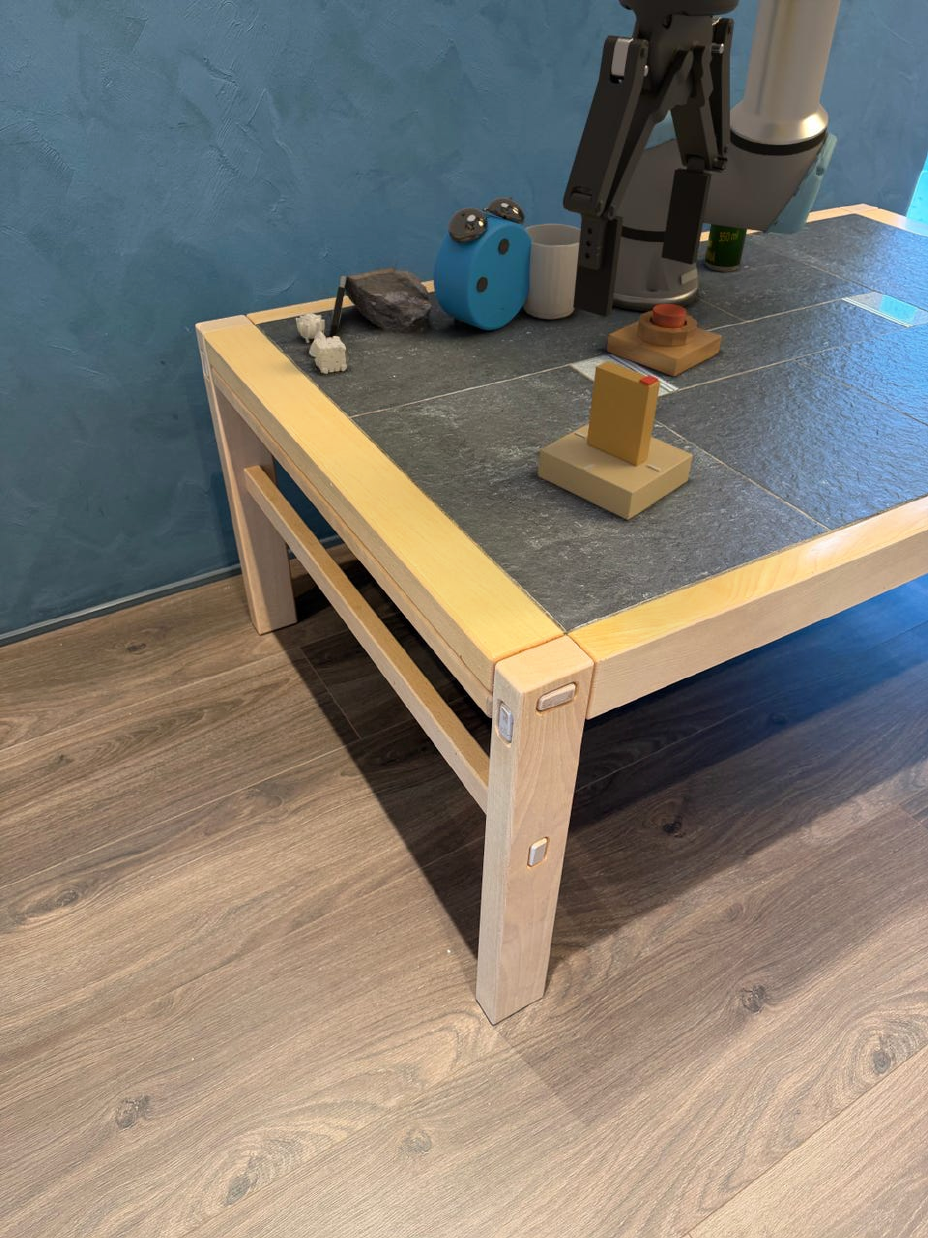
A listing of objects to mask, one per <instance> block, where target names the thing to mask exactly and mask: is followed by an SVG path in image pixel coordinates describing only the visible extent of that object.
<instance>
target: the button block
mask: <svg viewBox="0 0 928 1238" xmlns="http://www.w3.org/2000/svg"><path fill="white" fill-rule="evenodd" d="M652 313H653V311H645V312H644V313H642V314H640V315H639V319H638V321H635V322H633V323H631V324H628V325H626V326H624V327H622V328H620V329H617V330H615V331H613V332H611V333H609V334H608V337H607V347H606V352H607V353H610V354H613V355H616V356H619V357H621V358H623V359H626V360H629V361H631V362H634V363H636V364H640V365H642V366H645V367H647V368H650V369H652V370H656V371H658V372H661V373H663V374H666V375H669V376H671V377H675V376H677V375H679V374H681V373H683V372H685V371H687V370H689V369H691V368H693V367H695V366H696V365H698V364H700V363H702V362H704V361H706V360H707V359H710V358H711V357H713V356H716V354H719V353H720V348H721V345H722V344H721V343H722V340H723V339H722V338H723V335H721V334H719V333H716V332H713V331H709V330H707V329H704V328H700V327H697V324H698V321H697V320H696V319H695V318H694V317H692V316H691V315H689V314H686V318H685V323H684V326H683V327H681V328H673V329H672V328H663V327H659V326H656V325H653V324H652V323H651V319H652Z"/></svg>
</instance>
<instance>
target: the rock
mask: <svg viewBox="0 0 928 1238" xmlns="http://www.w3.org/2000/svg"><path fill="white" fill-rule="evenodd" d="M344 288H345V295H346V297H347V299H348V300H349V301H350V302H351V304H353V305H354V307H355V308H356V309H357V311H359V313H360V314H361V315H362V316H363V317H365V318H366V319H367V320H368V321H370V322H371V323H372V324H374V325H376V326H377V327H379V328H381V329H383V330H384V331H385V332H387V333H391V334H397V335H398V334H399V335H400V334H404V335H410V334H412V335H413V334H425V333H427V332H428V331H429V330H428V329H429V328H428V325H429V321H430V314H431V310H432V299H431V298H430V297H429V291H428V289H427V286H425V285H424V284H422V282H421V278H420V277H419V276H417V275H415V274H414V273H412V272H410V271H408V270H406V269H403V270H401V269H400V270H399V269H397V268H395V267H388V268H383V269H382V268H378V269H376V270H371V271H366V272H360V273H355V274H350V275H347V276H346V281H345V286H344Z"/></svg>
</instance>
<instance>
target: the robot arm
mask: <svg viewBox="0 0 928 1238" xmlns="http://www.w3.org/2000/svg"><path fill="white" fill-rule="evenodd" d="M739 2H740V0H618V3H619V5H620V6H621V7H622V8H623V9H625V10H628V11H632V12H633V13H634V16H635V23H634V25H633V31H632V35H631V37H628V36H619V35H611V34H609V35H607V37H606V38H605V40H604V42H603V48H602V55H601V61H600V62H601V63H600V69H599V76H598V80H597V82H596V83H597V84H596V87H595V91H594V93H593V97H592V101H591V104H590V107H589V110H588V113H587V117H586V119H585V124H584V127H583V131H582V133H581V137H580V141H579V144H578V146H577V151H576V154H575V156H574V160H573V164H572V166H571V170H570V174H569V177H568V181H567V184H566V187H565V191H564V195H563V197H562V206H563V209H564V210H567V211H568V212H571V213H576V214H579V215H580V217H581V222H580V229H581V231H580V241H579V252H578V262H577V272H576V283H575V293H574V304H573V308H575V309H576V310H580V311H583V312H587V313H591V314H593V315H597V316H601V317H604V318H607V317H609V316H610V315H612V311H613V307H617V308H621V309H626V310H633V311H641V312H648V311H653V308H654V307H655V306H656V305H660V304H674V305H678V306H681V307H683V308H684V307H686V306H688V305H690V304H691V303H693V302H694V301H695V300H696V297H697V291H698V287H699V278H698V268H697V261H698V260H697V259H698V254H699V248H700V242H701V237H702V232H703V225H704V224H708V225H711V224H714V225H721V226H728V227H735V228H742V229H747V231H748V230H750V231H756V232H762V234H765V235H768V234H770V233H772V234H781V235H782V234H783V235H793V234H796V233H798V232H800V231H801V230H802V229H803V228H804V227H805V226H806V224H807V221H808V219H809V216H810V213H811V212H812V211H811V210H812V209H813V206H814V203H815V200H816V199H817V195H818V193H819V190H820V188H821V185H822V182H823V180H824V178H825V174H826V172H827V169H828V166H829V164H830V161H831V159H832V156H833V153H834V151H835V148H836V145H837V143H838V137H837V136H836V135H835V134H833V133H832V132H830V131H828V132H827V129H828V124H829V114H828V112H827V111H826V109H825V108H824V107H823V106H822V104H821V103H820V100H821V96H822V95H821V94H822V91H823V85H824V81H825V77H826V71H827V67H828V62H829V57H830V54H831V53H830V52H831V48H832V44H833V39H834V35H835V29H836V25H837V21H838V15H839V11H840V5H841V2H842V0H758V1H757V8H756V14H755V20H754V28H753V34H752V41H751V47H750V54H749V60H748V67H747V72H746V73H747V74H746V80H745V87H744V94H743V99H742V100H741V101H739V102H738V103H737V104H736V105H734V106H733V107H732V109H731V49H732V42H733V35H734V28H735V21H734V19H733V18H731V17H724V16H723V17H722V15H727V14H729V13H731V12H733V11H734V10H736V8H737V7H738V5H739V4H740V3H739Z"/></svg>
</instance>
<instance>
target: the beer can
mask: <svg viewBox="0 0 928 1238" xmlns="http://www.w3.org/2000/svg"><path fill="white" fill-rule="evenodd" d="M747 233H748V229H742V228H735V227H728V226H721V225H714V224H710V228H709V231H708V238H707V243H706V249H705V254H704V261H703V262H704V264H705V266H706V268H708V269H709V270H712V271H717V272H725V273H726V272H727V273H728V272H733V271H736V270H737V269H739V267H740V265H741V262H742V257H743V251H744V248H745V243H746V238H747Z"/></svg>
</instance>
